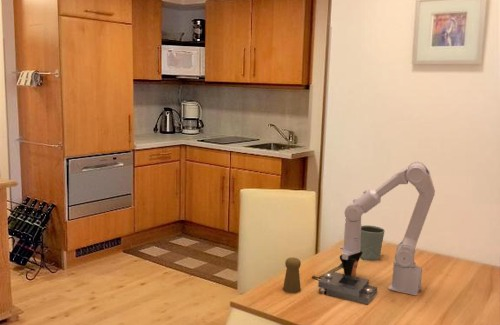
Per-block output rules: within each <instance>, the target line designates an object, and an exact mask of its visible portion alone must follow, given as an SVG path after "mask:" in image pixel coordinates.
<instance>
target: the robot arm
mask: <svg viewBox="0 0 500 325" xmlns="http://www.w3.org/2000/svg"><path fill="white" fill-rule="evenodd" d="M409 183H410V184H411V185H412V186H414V187H415V189H416V191H417V193H418V197H417V199H416V203H415V205H414V209H413V212H412V214H411V217H410V219H409V222H408V225H407V228H406V230H405V234H404V236H403V238H402V241H401V242H400V243H399V244H398V245H397V246H396V252H395V254H394V260H393V267H392V280H391V284H390V285H389V286H388V290H389V291H394V292H398V293H402V294H407V295H412V296H417V295H418V294H419V292H420V290H421V289H422V276H423V268H422V267H421V266H419V265H417V264H416V262H415V254H416V247H417V243H418V241H419V238H420V236H421V233H422V231H423V227H424V225H425V221H426V219H427V216H428V213H429V212H430V208H431V205H432V203H433V199H434V197H435V194H436V193H435V192H436V190H435V186H434V184H433V180H432V176H431V173H430V170H429V169H428V168H427V166H426V164H424V163H423V162H421V161H413V162H411V163H410V164H409V165H408V166H405V167H403V168H402V169H400V170H398V171H397V172H395V173H394V174H393V175H392V176H391V177H390V178H388V179H386V180H385V181H384V182H383V183H382V184H380V185H379V186H378V187H377V188H375V189H373V188H370V189H365V190H364V191H363V192H362V193H363V194H361V195H359V197H357V198H354V199H353V200H352V202H349V204H348V205H347V206H346V208H345V210H344V217H345V218H344V219H345V223H344V231H343V232H344V234H343V235H344V236H343V245H341V246H340V247H339V248H340V250H342V254H340V255H339V261H340V262H341V263H342V265H343V268H342V269H343V274H346V275H350V276H351V274H352V269H353V265H354V262H355V261H356V260H357V261H358V262H359V261H360V260H361V258H360V257H361V255H362V253H363V252H362V251H360V245H361V244H360V240H361V226H362V216H363V214H366V213H369V211H371V210H372V209H373V208H375V207H377V205H379V204H380V203H381V200H382V199H381V198H382V197H383V196H385V195H386V194H388V193H389V192H391V191H392V190H393V189H395V188H396V187H398V186H399V185H408V184H409ZM357 268H358V266H356V269H357Z"/></svg>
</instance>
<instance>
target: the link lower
mask: <svg viewBox="0 0 500 325" xmlns="http://www.w3.org/2000/svg"><path fill="white" fill-rule="evenodd" d="M342 284H347V283H342ZM347 285H351V284H347ZM351 286H354V285H351ZM325 292H326V295H327V296H330V297H334V298H337V299H343V300H345V301H349V302H354V303H359V304H362V305H369V303H371V301H372V300H373V299H374V298H375V296H376V295H377V294H378V286H374V285H370V284H369V286H368V287H367V288H365V290H364V291H363V293H362V294H361V295H360V296H359V297H358V296H354V295H349V294H345V293H341V292H337V291H333V290H329V289H327V290H326V291H325Z"/></svg>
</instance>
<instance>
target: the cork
mask: <svg viewBox="0 0 500 325" xmlns="http://www.w3.org/2000/svg"><path fill="white" fill-rule="evenodd" d="M284 264H285V268H286V271H285V278H284V280H283V281H284V282H283V287H282V290H283V291H284V292H285V293H289V294H297V293H300V292H301V291H302V290H301V279H300V278H301V277H300V268H301V265H302V264H301V260H300V259H299V258H297V257H288V258H286V260H285V263H284Z"/></svg>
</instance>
